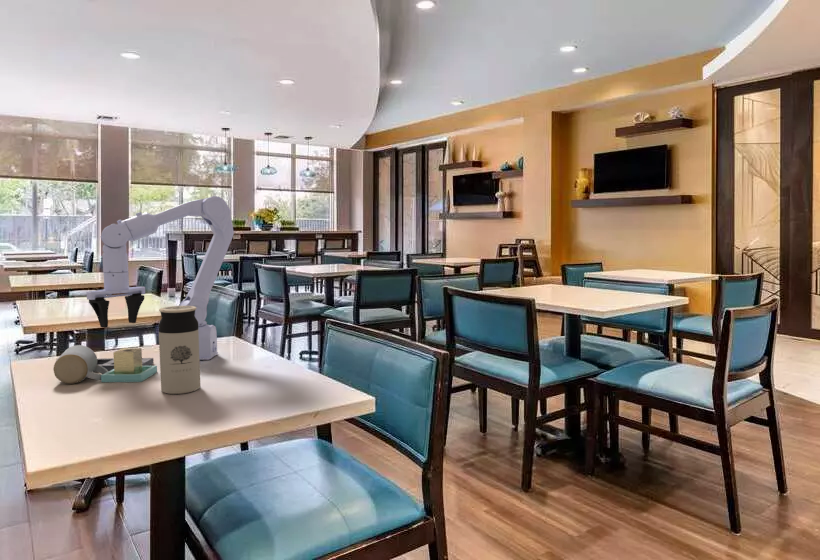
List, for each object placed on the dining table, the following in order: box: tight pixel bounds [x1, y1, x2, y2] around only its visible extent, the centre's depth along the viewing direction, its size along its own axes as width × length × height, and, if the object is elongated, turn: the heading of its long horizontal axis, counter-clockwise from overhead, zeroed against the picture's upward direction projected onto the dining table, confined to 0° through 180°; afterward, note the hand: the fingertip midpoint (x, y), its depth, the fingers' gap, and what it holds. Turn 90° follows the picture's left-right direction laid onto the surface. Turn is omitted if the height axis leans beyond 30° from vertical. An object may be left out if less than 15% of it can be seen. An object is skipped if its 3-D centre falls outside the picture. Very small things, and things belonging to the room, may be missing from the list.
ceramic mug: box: [53, 344, 109, 385], centre depth 134 cm, size 11×8×8 cm
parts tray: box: [100, 365, 158, 383], centre depth 137 cm, size 9×9×2 cm
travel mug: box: [158, 305, 201, 395], centre depth 125 cm, size 8×8×18 cm
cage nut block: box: [113, 347, 143, 374], centre depth 137 cm, size 4×4×6 cm
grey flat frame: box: [93, 357, 154, 373], centre depth 146 cm, size 18×8×2 cm, turn 92°
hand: (118, 324), depth 148 cm, fingers open, 7 cm apart
